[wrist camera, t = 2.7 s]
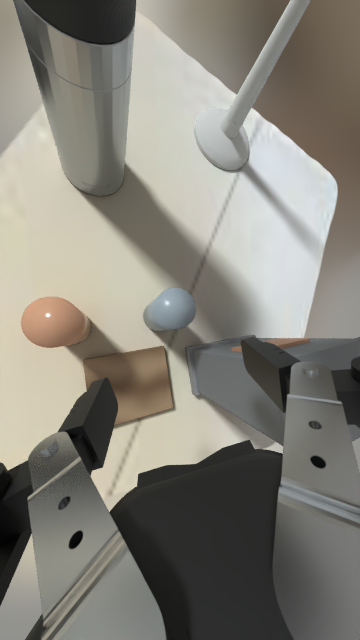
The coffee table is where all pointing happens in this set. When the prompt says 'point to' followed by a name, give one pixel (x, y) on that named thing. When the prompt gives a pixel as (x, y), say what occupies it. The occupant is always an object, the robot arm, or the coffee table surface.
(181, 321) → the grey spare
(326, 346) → the post
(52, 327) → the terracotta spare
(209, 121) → the candlestick
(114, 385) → the pad
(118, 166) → the robot arm
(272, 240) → the coffee table surface
